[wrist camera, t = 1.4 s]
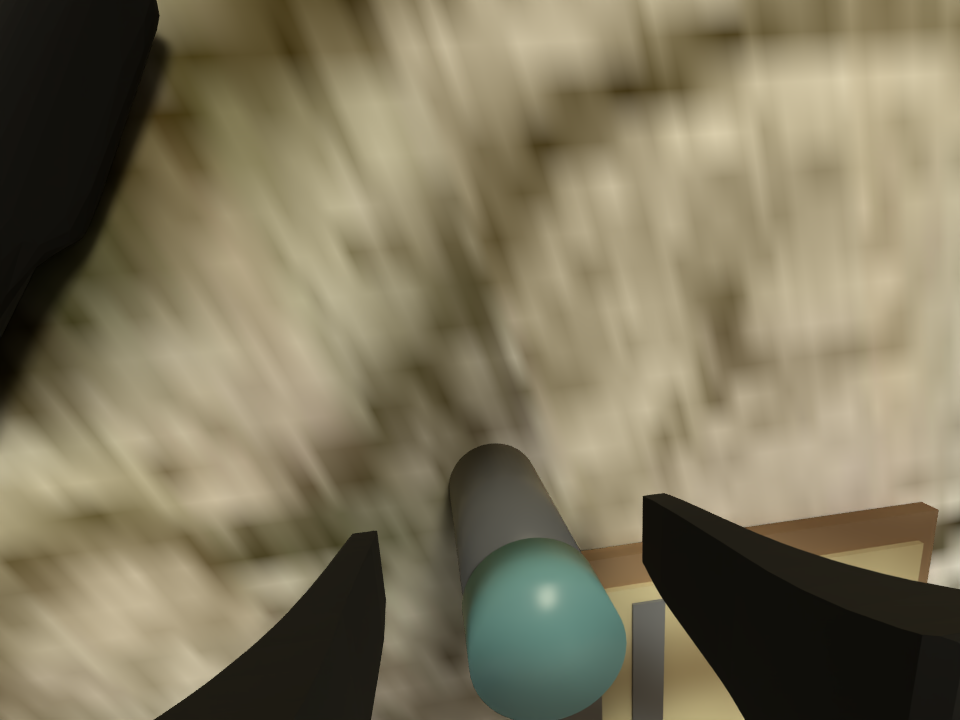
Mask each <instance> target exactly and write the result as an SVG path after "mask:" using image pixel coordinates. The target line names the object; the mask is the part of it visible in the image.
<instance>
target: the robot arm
mask: <svg viewBox="0 0 960 720" xmlns="http://www.w3.org/2000/svg"><path fill="white" fill-rule="evenodd" d="M642 562H643V564H644V566H645V568H646V570H647V572H648V574H649V576H650V578H651V580H652V582H653V583H654V585H655V587H656V589H657V591H658V592H659V594H660V596H661V597H662V599H663V600H664V602H665V603H666V605H667V606H668V608H669V609H670V610H671V612H672V613H673V615H674V616H675V617H676V619H677V620H678V622H679V623H680V624H681V626H682V627H683V629H684V630H685V631H686V633H687V634H688V636H689V637H690V638H691V640H692V641H693V642H694V644H695V645H696V647H697V648H698V649H699V651H700V652H701V654H702V655H703V656H704V658H705V659H706V660H707V662H708V663H709V665H710V666H711V667H712V669H713V670H714V672H715V673H716V674H717V676H718V677H719V679H720V680H721V682H722V683H723V685H724V686H725V688H726V689H727V691H728V692H729V694H730V696H731V697H732V699H733V701H734V702H735V704H736V706H737V707H738V709H739V711H740V712H741V714H742V716H743V717H744V719H745V720H960V589H955V588H949V587H944V586H939V585H934V584H929V583H924V582H919V581H914V580H909V579H905V578H900V577H896V576H891V575H887V574H883V573H879V572H875V571H871V570H867V569H864V568H860V567H856V566H852V565H848V564H845V563H841V562H838V561H835V560H831V559H828V558H825V557H822V556H819V555H816V554H813V553H810V552H807V551H803V550H800V549H797V548H795V547H792V546H789V545H786V544H784V543H781V542H778V541H776V540H773V539H771V538H768V537H766V536H763V535H761V534H758V533H756V532H753V531H751V530H749V529H746V528H744V527H741V526H739V525H737V524H735V523H732V522H730V521H728V520H726V519H723V518H721V517H719V516H717V515H714V514H712V513H710V512H708V511H706V510H703V509H701V508H699V507H697V506H695V505H692V504H690V503H688V502H685V501H683V500H681V499H678V498H676V497H673V496H671V495H668V494H665V493H662V494H654V495H646V496H643V534H642ZM385 607H386V597H385V589H384V581H383V574H382V566H381V558H380V550H379V543H378V535H377V531H370V532H362V533H355V534H352V535H351V537H350V538H349V539H348V540H347V542H346V543H345V544H344V545H343V547H342V548H341V549H340V551H339V552H338V553H337V555H336V556H335V557H334V559H333V560H332V561H331V562H330V564H329V565H328V566H327V568H326V569H325V570H324V571H323V572H322V574H321V575H320V576H319V577H318V579H317V580H316V581H315V582H314V583H313V585H312V586H311V587H310V588H309V589H308V591H307V592H306V593H305V594H304V595H303V596H302V597H301V598H300V600H299V601H298V602H297V603H296V604H295V605H294V606H293V607H292V608H291V609H290V611H289V612H288V613H287V614H286V615H285V616H284V617H283V618H282V619H281V620H280V621H279V622H278V623H277V624H276V625H275V626H274V627H273V628H272V629H271V630H269V631H268V632H267V633H266V634H265V635H264V636H263V637H262V638H261V639H260V640H259V641H258V642H256V643H255V644H254V645H253V646H252V647H251V648H250V649H248V650H247V651H246V652H245V653H244V654H242V655H241V656H240V657H239V658H237V659H236V660H235V661H234V662H232V663H231V664H230V665H229V666H228V667H226V668H225V669H224V670H223V671H221V672H220V673H219V674H218V675H216V676H215V677H214V678H213V679H211V680H210V681H209V682H207V683H206V684H205V685H203V686H202V687H201V688H199V689H198V690H196V691H195V692H194V693H192V694H191V695H190V696H188V697H187V698H185V699H184V700H182V701H181V702H180V703H178V704H177V705H175V706H174V707H172V708H171V709H169V710H168V711H166V712H165V713H163V714H162V715H160V716H159V717H157V718H156V719H154V720H371V716H372V710H373V704H374V698H375V692H376V686H377V679H378V673H379V667H380V661H381V655H382V648H383V642H384V629H385Z"/></svg>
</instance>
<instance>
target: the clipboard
mask: <svg viewBox="0 0 960 720" xmlns="http://www.w3.org/2000/svg"><path fill="white" fill-rule="evenodd" d="M937 517H938V509H935V508H933V507H931V506H929V505H927V504H925V503H923V502H919V503H912V504H905V505H898V506H891V507H884V508H877V509H870V510H863V511H856V512H849V513H842V514H835V515H829V516H822V517H815V518H808V519H801V520H794V521H787V522H780V523H773V524H766V525H759V526H752V527H745V528H746V529H749V530H751V531H753V532H756V533H758V534H761V535H763V536H766V537H768V538H771V539H773V540H776V541H778V542H781V543H784V544H786V545H789V546H792V547H795V548H797V549H800V550H803V551H807V552H810V553H813V554H816V555H819V556H822V557H825V558H828V559H831V560H835V561H838V562H841V563H845V564H848V565H852V566H856V567H860V568H864V569H867V570H871V571H875V572H879V573H883V574H887V575H891V576H896V577H900V578H905V579H909V580H914V581H919V582H924V583H927V580H928V574H929V567H930V561H931V555H932V548H933V542H934V536H935V529H936V523H937ZM581 553H582V554H583V555H584V557H585V558H586V559H587V560H588V561H589V563H590V565H591V566H592V568H593V570H594V572H595V573H596V575H597V577H598V579H599V580H600V582H601V584H602V586H603V587H604V589H605V591H606V593H607V595H608V596H609V598H610V600H611V602H612V603H613V605H614V607H615V609H616V610H617V612H618V614H619V616H620V617H621V620H622V622H623V625H624V628H625V632H626V642H627V644H626V654H625V658H624V662H623V665H622V667H621V670H620V672H619V674H618V676H617V678H616V679H615V681H614V682H613V684H612V685H611V686H610V687H609V689H608V690H607V691H606V692H605V693H604V694H603V695H602V696H601V697H600V698H599V699H598V700H597V701H595V702H594V703H593V704H591V705H590V706H588V707H587V708H585V709H583V710H582V711H580V712H578V713H576V714H573V715H571V716H568V717H566V718H563V719H559V720H745V719H744V717H743V716H742V714H741V712H740V711H739V709H738V707H737V706H736V704H735V702H734V701H733V699H732V697H731V696H730V694H729V692H728V691H727V689H726V688H725V686H724V685H723V683H722V682H721V680H720V679H719V677H718V676H717V674H716V673H715V672H714V670H713V669H712V667H711V666H710V665H709V663H708V662H707V660H706V659H705V658H704V656H703V655H702V654H701V652H700V651H699V649H698V648H697V647H696V645H695V644H694V642H693V641H692V640H691V638H690V637H689V636H688V634H687V633H686V631H685V630H684V629H683V627H682V626H681V624H680V623H679V622H678V620H677V619H676V617H675V616H674V615H673V613H672V612H671V610H670V609H669V608H668V606H667V605H666V603H665V602H664V600H663V599H662V597H661V596H660V594H659V592H658V591H657V589H656V587H655V585H654V583H653V582H652V580H651V578H650V576H649V574H648V572H647V570H646V568H645V566H644V564H643V562H642V542H641V543H634V544H627V545H620V546H613V547H606V548H599V549H592V550H585V551H581Z"/></svg>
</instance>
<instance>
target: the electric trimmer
mask: <svg viewBox="0 0 960 720" xmlns="http://www.w3.org/2000/svg"><path fill="white" fill-rule="evenodd" d="M158 21H159V11H158V6H157V1H156V0H0V338H1V336H2V334H3V332H4V330H5V328H6V326H7V324H8V322H9V320H10V318H11V316H12V314H13V312H14V310H15V308H16V306H17V304H18V302H19V300H20V298H21V296H22V294H23V292H24V290H25V288H26V286H27V284H28V282H29V280H30V278H31V276H32V274H33V272H34V270H35V268H36V267H38V266H39V265H40V264H42V263H43V262H44V261H46V260H47V259H48V258H50V257H51V256H53V255H54V254H55V253H57V252H59V251H61V250H63V249H64V248H66V247H68V246H70V245H71V244H73V243H75V242H77V241H78V240H80V239H81V238H82V237H83V235H84V234H85V233H86V231H87V228H88V226H89V224H90V221H91V219H92V217H93V214H94V212H95V210H96V207H97V205H98V203H99V200H100V197H101V194H102V191H103V188H104V185H105V182H106V179H107V176H108V173H109V170H110V167H111V165H112V162H113V159H114V156H115V153H116V150H117V147H118V144H119V141H120V138H121V135H122V132H123V129H124V126H125V123H126V120H127V117H128V114H129V111H130V108H131V105H132V102H133V99H134V96H135V93H136V90H137V87H138V84H139V81H140V78H141V75H142V72H143V69H144V66H145V63H146V60H147V57H148V54H149V51H150V48H151V45H152V42H153V40H154V37H155V34H156V31H157V26H158Z"/></svg>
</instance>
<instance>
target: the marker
mask: <svg viewBox="0 0 960 720" xmlns="http://www.w3.org/2000/svg"><path fill="white" fill-rule="evenodd" d="M449 492H450V500H451V508H452V516H453V524H454V531H455V539H456V547H457V555H458V563H459V571H460V579H461V586H462V594H463V600H462V613H463V621H464V629H465V637H466V646H467V654H468V662H469V670H470V676H471V680H472V683H473V686H474V688H475V690H476V692H477V694H478V695H479V696H480V698H481V699H482V700H483V702H485V703H486V704H487V705H488V706H489V707H490V708H491V709H493V710H494V711H495V712H497V713H499V714H501V715H503V716H505V717H508V718H510V719H513V720H559V719H563V718H566V717H568V716H571V715H573V714H576V713H578V712H580V711H582V710H583V709H585V708H587V707H588V706H590V705H591V704H593V703H594V702H595V701H597V700H598V699H599V698H600V697H601V696H602V695H603V694H604V693H605V692H606V691H607V690H608V689H609V687H610V686H611V685H612V684H613V682H614V681H615V679H616V678H617V676H618V674H619V672H620V670H621V667H622V665H623V662H624V658H625V654H626V644H627V642H626V632H625V628H624V625H623V622H622V620H621V617H620V616H619V614H618V612H617V610H616V609H615V607H614V605H613V603H612V602H611V600H610V598H609V596H608V595H607V593H606V591H605V589H604V587H603V586H602V584H601V582H600V580H599V579H598V577H597V575H596V573H595V572H594V570H593V568H592V566H591V565H590V563H589V561H588V560H587V559H586V558H585V557H584V555H583V554H582V553H581V551H580V549H579V548H578V546H577V544H576V542H575V540H574V539H573V537H572V535H571V533H570V532H569V530H568V528H567V526H566V524H565V523H564V521H563V519H562V517H561V515H560V514H559V512H558V510H557V508H556V506H555V505H554V503H553V501H552V499H551V498H550V496H549V494H548V492H547V490H546V489H545V487H544V485H543V483H542V481H541V480H540V478H539V476H538V474H537V472H536V471H535V469H534V467H533V465H532V464H531V462H530V460H529V459H528V458H527V457H526V456H525V455H524V454H523V453H522V452H521V451H519V450H518V449H516V448H514V447H512V446H509V445H505V444H487V445H482V446H479V447H477V448H475V449H473V450H471V451H469V452H468V453H467V454H465V455H464V456H463V457H462V458H461V459H460V460H459V461H458V463H457V464H456V466H455V467H454V469H453V471H452V474H451V477H450V483H449Z"/></svg>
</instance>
